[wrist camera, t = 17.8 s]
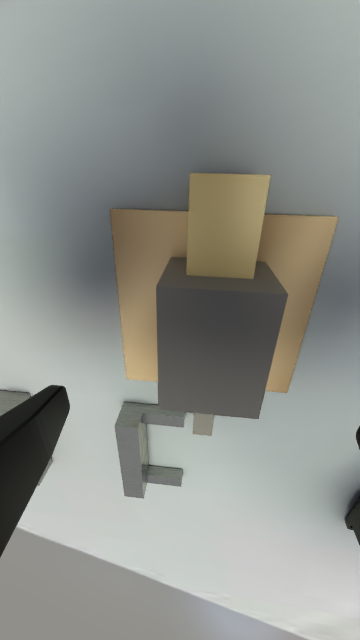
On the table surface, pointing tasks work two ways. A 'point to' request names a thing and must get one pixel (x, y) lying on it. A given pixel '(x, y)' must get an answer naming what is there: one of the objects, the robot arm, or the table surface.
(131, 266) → the pad
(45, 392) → the robot arm
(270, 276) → the plug
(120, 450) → the pair of grey brackets
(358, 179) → the table surface
